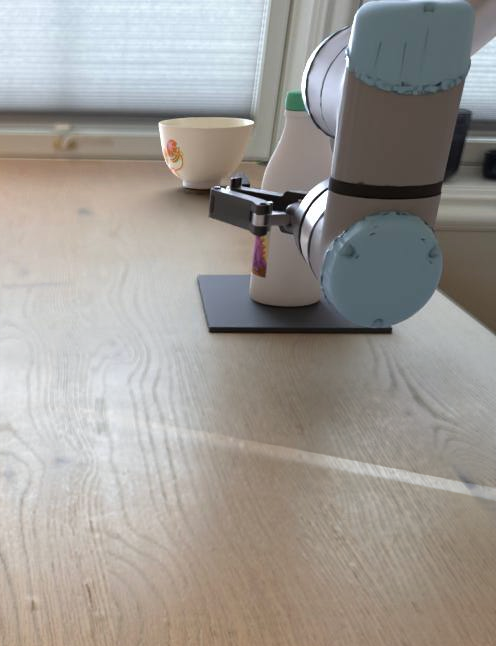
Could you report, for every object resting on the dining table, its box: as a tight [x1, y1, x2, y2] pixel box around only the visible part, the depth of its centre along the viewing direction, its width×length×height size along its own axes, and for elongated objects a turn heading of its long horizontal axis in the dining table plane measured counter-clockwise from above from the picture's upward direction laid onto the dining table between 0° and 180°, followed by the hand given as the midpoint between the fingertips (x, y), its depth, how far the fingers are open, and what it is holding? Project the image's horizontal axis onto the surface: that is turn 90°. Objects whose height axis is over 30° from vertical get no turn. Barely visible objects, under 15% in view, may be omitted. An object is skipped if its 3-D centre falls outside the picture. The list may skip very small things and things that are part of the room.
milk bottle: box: [250, 88, 333, 306], centre depth 101 cm, size 8×8×20 cm
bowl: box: [158, 116, 255, 190], centre depth 169 cm, size 16×16×10 cm
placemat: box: [196, 274, 393, 334], centre depth 107 cm, size 22×18×1 cm
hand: (309, 187), depth 96 cm, fingers open, 13 cm apart
